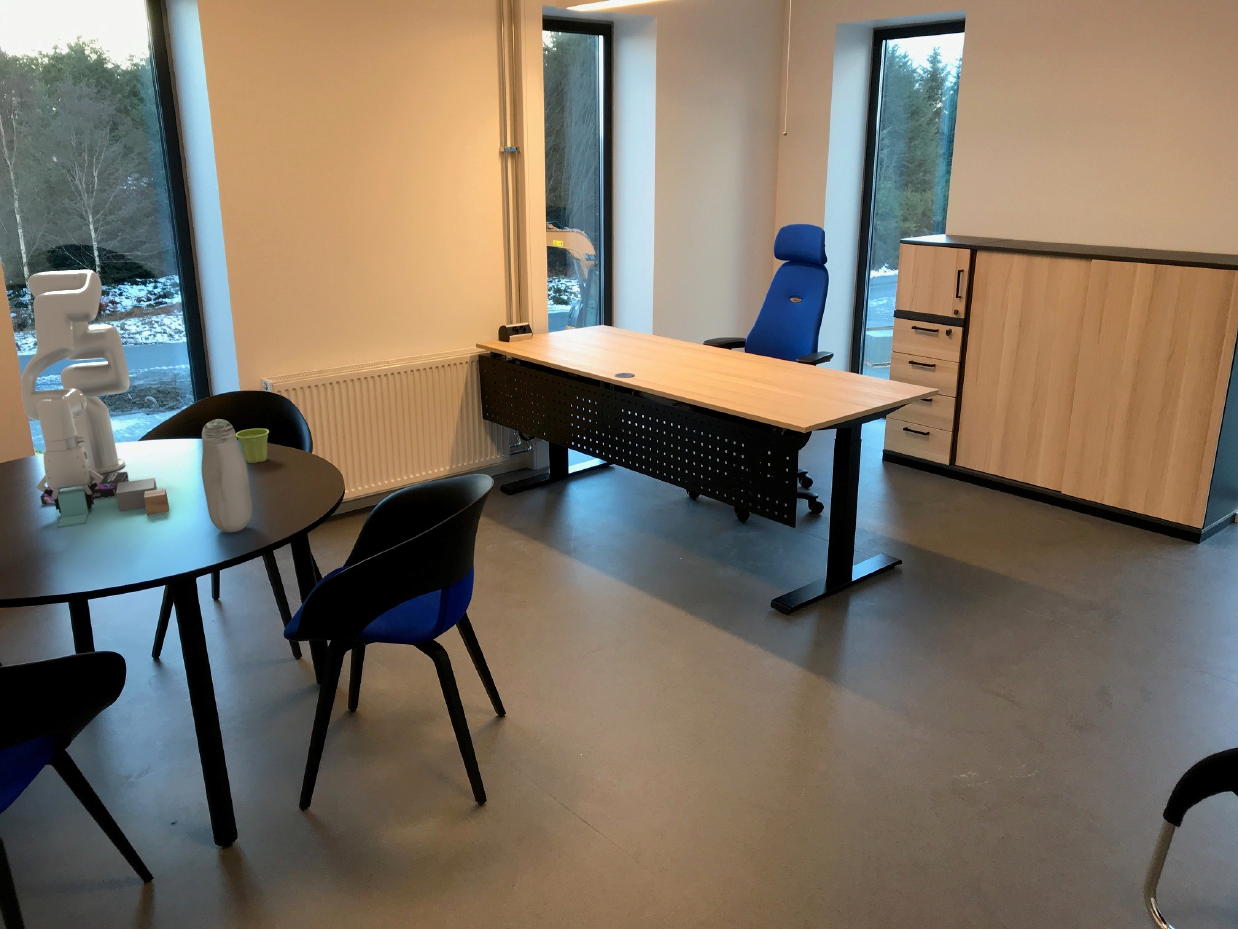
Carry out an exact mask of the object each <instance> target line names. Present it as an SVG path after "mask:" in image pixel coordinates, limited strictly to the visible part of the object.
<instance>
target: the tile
mask: <svg viewBox="0 0 1238 929" xmlns="http://www.w3.org/2000/svg"><path fill="white" fill-rule="evenodd" d="M87 519H88V514H83V515H77V516H70V517H63V518H62V517H60V519H59V522H58V525H57V526H58V528H64V527H65V528H66V527H71V526H79V525H84V524H87V523H86V521H87Z"/></svg>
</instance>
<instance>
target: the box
mask: <svg viewBox="0 0 1238 929" xmlns="http://www.w3.org/2000/svg"><path fill="white" fill-rule="evenodd" d="M100 475H101V476H103V480H102V481H101V482H100V483H99V484H98V486H97V487H96V488H95V489H94V491H93V492H92V496H93V500H96V499H104V498H114V497H115V498H116V490H117V486H118V483H121V482H128V481H129V473H128V471H120V472H119V471H117V472H108V473H102V474H100ZM94 481H95V478H93V477H92V478H91V479H90V483H89V484H90V485H91V484H92V483H93V482H94ZM46 487H47V488H49V487H48V486H46ZM73 487H78V486H73ZM66 488H70V487H66ZM50 489H51V490H53V489H52V488H50ZM60 489H63V488H60ZM60 489H59V491H60ZM58 494H59V493H58ZM39 498H40V501H41V504H45V505H52V504H51V503H54V504H55V502H54V499H52V497H50V496H48V495H47V494H45V493H44V492H42V494H41V495H40V497H39Z"/></svg>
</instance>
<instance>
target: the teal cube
mask: <svg viewBox="0 0 1238 929" xmlns="http://www.w3.org/2000/svg"><path fill="white" fill-rule="evenodd" d="M85 495H86V492H85V490H84V489H83V487H82V486H78V487H70V488H63V489H60V491H59V494H58V500H59V505H60V510H61V513H60V514H61V518H63V517H70V516H77V515H83V514H87V515H89V513H90V512H89V511H90V510H91V509H88V506H87V502H86V497H85Z"/></svg>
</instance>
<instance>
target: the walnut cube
mask: <svg viewBox="0 0 1238 929" xmlns="http://www.w3.org/2000/svg"><path fill="white" fill-rule="evenodd" d="M144 500H145V505H146V507H145V510H146V514H147V516H151V515H159V514H163V513H169V510H170V509H169V508H170V505H169V504H170V503H169V500H168V493H167V488H160V489H159V488H158V489H157V490H152V491H145V494H144ZM158 513H159V514H158Z"/></svg>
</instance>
